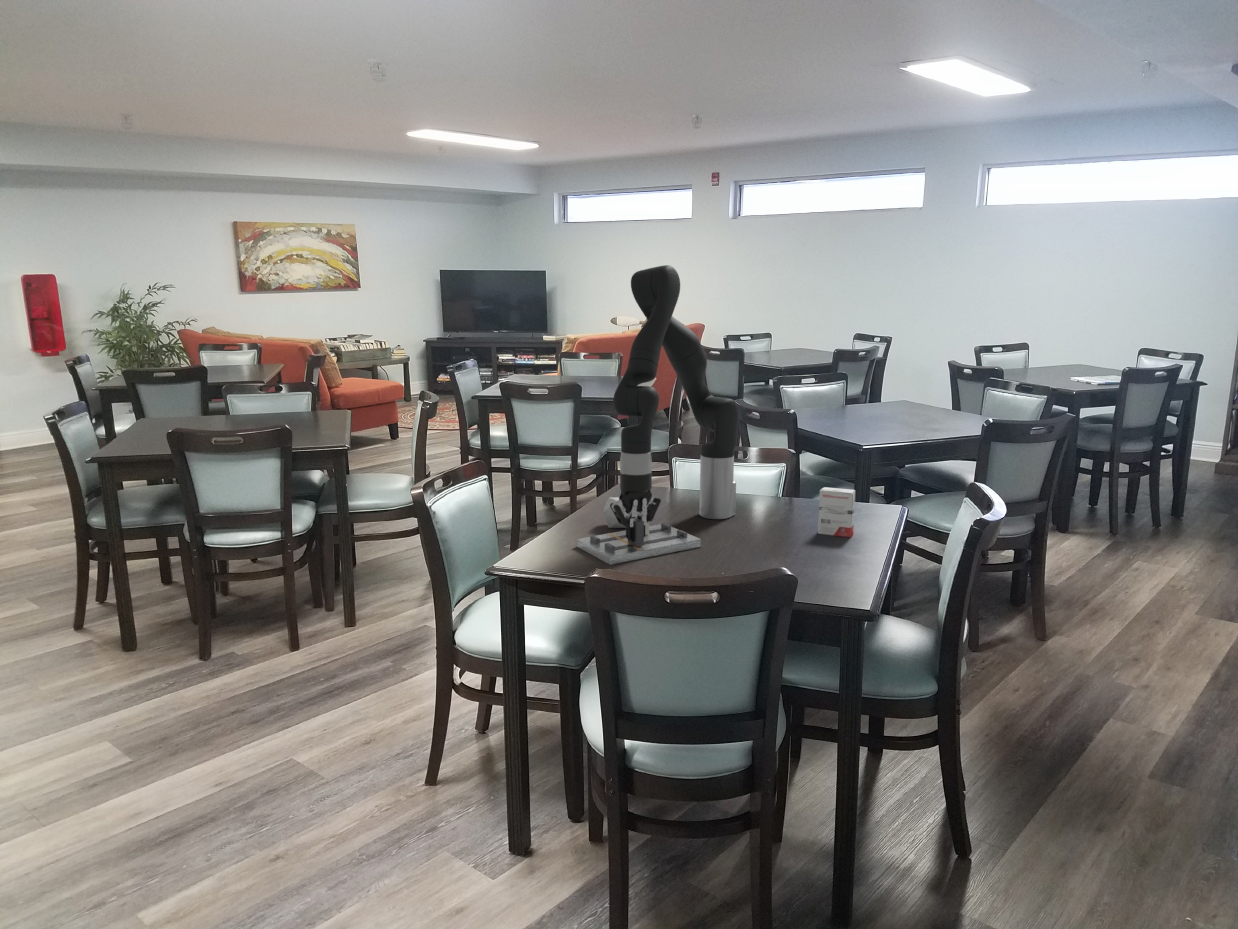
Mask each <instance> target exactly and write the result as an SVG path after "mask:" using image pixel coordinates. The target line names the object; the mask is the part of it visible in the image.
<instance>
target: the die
mask: <svg viewBox="0 0 1238 929" xmlns="http://www.w3.org/2000/svg"><path fill="white" fill-rule="evenodd" d="M619 497H620V496H617V497H611V496H610V497H608V498H607V501H606V503H605V506H604V509H603V510H602V514H603V517H604V519H605V522H606V525H607V527H608V528H609V529H626V526H624V525H622V524H620V523H618V521H617V519H616V517H615V515H614V513H613V511H612V509H611V507H610V504H611V503H616V502H617V501H618V500H619ZM624 509H625V508H624V506H623V505H622V512H623V514H624ZM630 513H631V512H630ZM624 516H625V515H624Z"/></svg>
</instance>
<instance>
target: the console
mask: <svg viewBox="0 0 1238 929" xmlns="http://www.w3.org/2000/svg"><path fill="white" fill-rule="evenodd" d="M701 544H702V539H701V538H699V537H696V536H694V535H692V534H689V533H688V532H686V531H684V530H681V529H678V528H675V527H673V526H672V525H670V524H668V523H665V522H663V523H660V524H655V525H649V534H648V535H645V537H644V546H638V547H636V546H634V545H632V544H630V543H628V539H627V538H626V529H625V530H621V531H614V532H609V533H604V534H598V535H590V536H587V537H582V538H576V545H577V546H576V547H577V548H579V549H581V550H582V551H585V552H586V553H588V554H589V555H591V556H594V557H595V558H597V559H599V560H601V561H602V562H605V563H606V564H608V565H611V566H612V565H615V564H617V565H618V564H622V563H625V562H631V561H636V560H637V561H638V560H642V559H646V558H651V557H656V556H661V555H667V554H671V553H676V552H681V551H682V552H683V551H688V550H693V549H697V548H701Z"/></svg>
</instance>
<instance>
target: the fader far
mask: <svg viewBox="0 0 1238 929" xmlns="http://www.w3.org/2000/svg"><path fill="white" fill-rule="evenodd" d="M635 518H637V515H636V517H635ZM649 526H650V521H649V522H647V523H646V525H645V535H648V534H649Z"/></svg>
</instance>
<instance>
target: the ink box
mask: <svg viewBox="0 0 1238 929" xmlns="http://www.w3.org/2000/svg"><path fill="white" fill-rule="evenodd" d="M818 495H819V500H818V518H817V519H818V525H817V534H819V535H824V536H825V535H826V536H835V537H842V538H851V537H853V534H854V529H855V528H854V527H855V525H854V524H855V510H856V509H855V508H856V507H855V505H856V490H855V489H849V488H848V489H847V488H839V487H838V488H837V487H827V486H826V487H825V486H824V487H822V488H820V490H819V494H818Z"/></svg>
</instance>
